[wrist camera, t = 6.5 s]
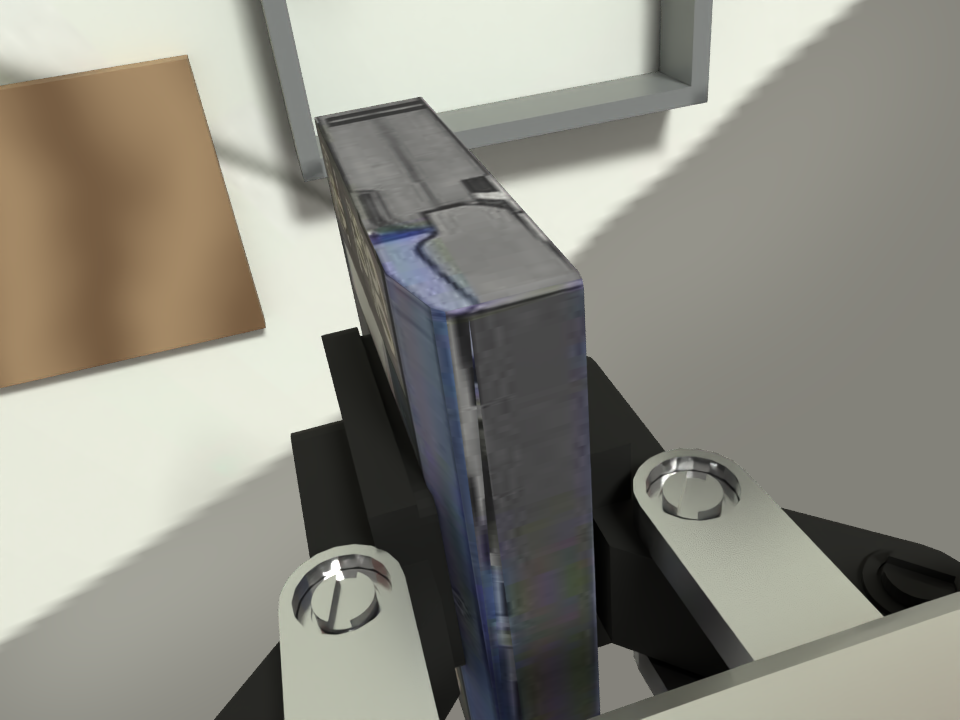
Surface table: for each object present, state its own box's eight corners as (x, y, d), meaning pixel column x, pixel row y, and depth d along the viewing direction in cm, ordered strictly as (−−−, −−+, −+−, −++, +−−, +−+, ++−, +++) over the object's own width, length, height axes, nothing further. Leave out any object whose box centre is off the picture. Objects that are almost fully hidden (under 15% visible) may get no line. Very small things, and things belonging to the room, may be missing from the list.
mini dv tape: (313, 114, 11) (403, 320, 6) (418, 93, 11) (583, 276, 7) (406, 530, 16) (499, 836, 11) (480, 510, 16) (603, 797, 11)
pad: (-7, 380, 36) (-11, 390, 35) (-152, 110, 29) (-160, 116, 29) (264, 319, 38) (265, 327, 37) (187, 54, 31) (186, 59, 31)
